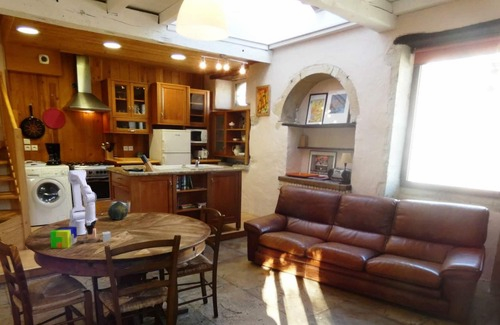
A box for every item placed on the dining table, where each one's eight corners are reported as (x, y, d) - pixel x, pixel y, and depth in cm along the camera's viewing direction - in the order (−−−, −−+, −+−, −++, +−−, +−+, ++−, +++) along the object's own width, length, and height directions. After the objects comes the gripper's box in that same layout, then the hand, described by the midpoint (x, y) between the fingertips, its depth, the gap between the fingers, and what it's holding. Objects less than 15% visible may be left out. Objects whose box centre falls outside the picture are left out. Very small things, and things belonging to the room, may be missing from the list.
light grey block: (103, 242, 189) (103, 234, 189) (102, 240, 193) (101, 232, 192) (110, 240, 192) (110, 233, 191) (109, 238, 195) (109, 231, 195)
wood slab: (83, 244, 186) (83, 239, 186) (86, 240, 193) (86, 236, 192) (96, 243, 188) (95, 238, 188) (98, 239, 195) (98, 235, 194)
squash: (108, 216, 229) (121, 199, 236) (101, 213, 240) (113, 197, 246) (123, 225, 238) (134, 209, 244) (115, 222, 248) (126, 207, 254)
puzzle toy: (77, 242, 189) (76, 226, 188) (68, 247, 179) (67, 231, 178) (61, 242, 189) (60, 226, 188) (51, 247, 179) (50, 231, 178)
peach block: (87, 238, 187) (86, 231, 187) (88, 236, 192) (88, 228, 191) (95, 238, 189) (94, 230, 188) (96, 235, 193) (96, 228, 193)
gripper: (95, 214, 183) (96, 236, 184) (98, 209, 197) (99, 229, 198) (82, 215, 181) (83, 237, 182) (86, 210, 194) (87, 230, 196)
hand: (90, 233), depth 190 cm, fingers closed on peach block, 4 cm apart
